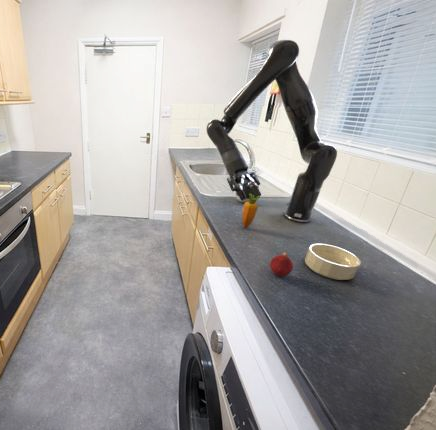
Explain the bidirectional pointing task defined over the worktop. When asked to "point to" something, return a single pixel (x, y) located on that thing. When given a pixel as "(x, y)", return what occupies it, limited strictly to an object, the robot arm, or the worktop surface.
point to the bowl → (332, 261)
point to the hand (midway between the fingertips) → (251, 198)
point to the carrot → (249, 211)
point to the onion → (281, 265)
